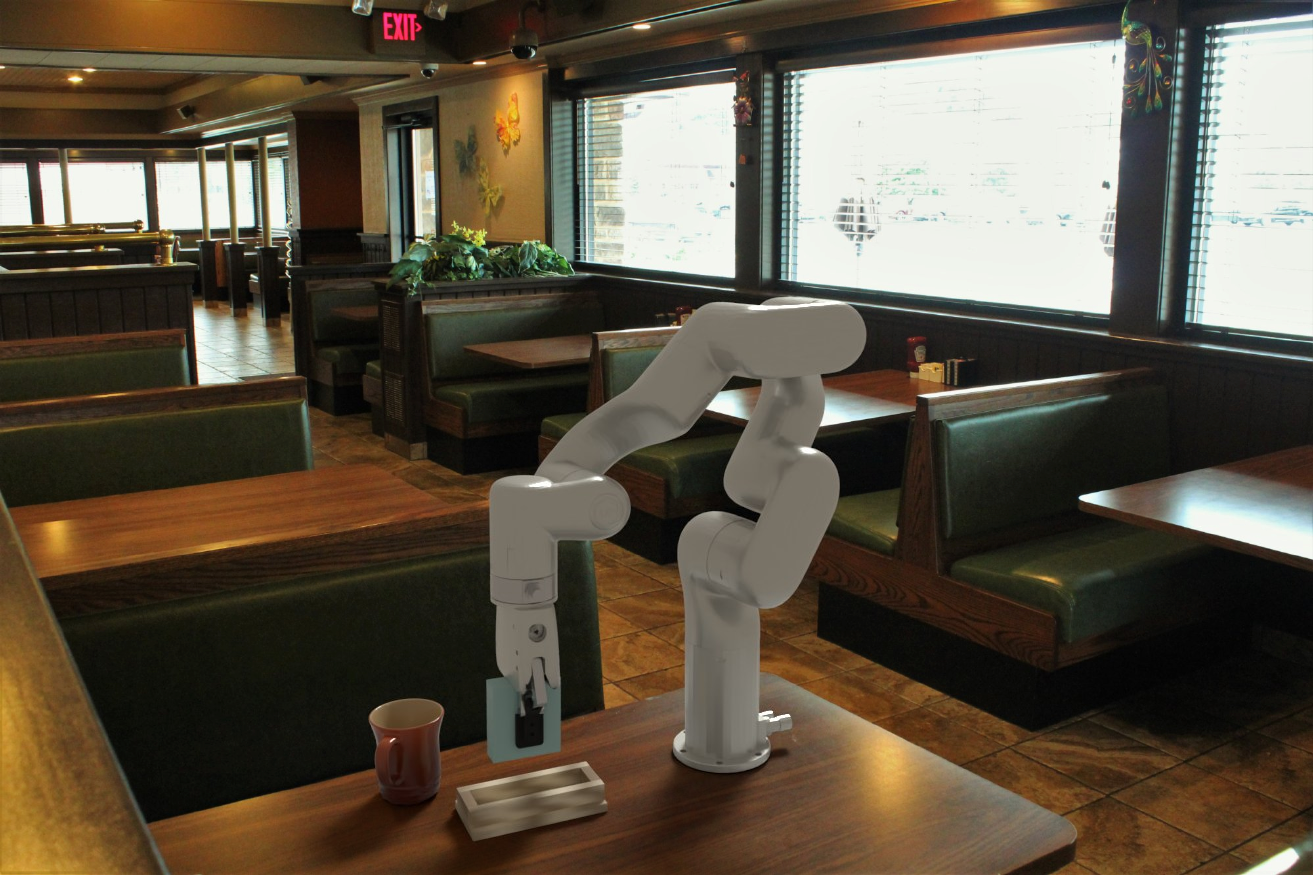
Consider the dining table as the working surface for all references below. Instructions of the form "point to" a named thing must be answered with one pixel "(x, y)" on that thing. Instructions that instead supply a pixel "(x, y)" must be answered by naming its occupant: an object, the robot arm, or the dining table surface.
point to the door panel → (503, 722)
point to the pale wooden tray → (530, 800)
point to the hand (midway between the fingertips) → (525, 738)
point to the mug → (407, 749)
